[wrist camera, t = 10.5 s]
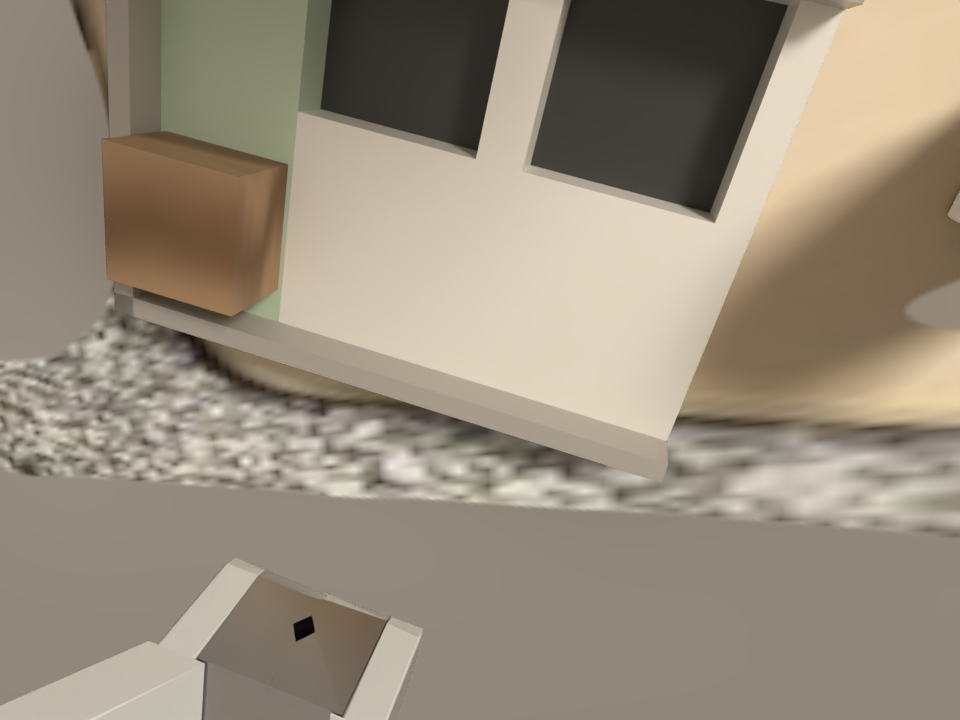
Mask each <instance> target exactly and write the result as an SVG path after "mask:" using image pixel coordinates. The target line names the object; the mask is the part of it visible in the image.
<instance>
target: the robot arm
mask: <svg viewBox="0 0 960 720" xmlns="http://www.w3.org/2000/svg"><path fill="white" fill-rule="evenodd" d="M423 634H424V629H422V628H419V627H416V626H414V625H411V624H408V623H406V622H403V621H400V620H398V619H395V618H392V617H391V616H389V615H386V614H383V613H381V612H378V611H375V610H372V609H370V608H367V607H364V606H361V605H359V604H356V603H353V602H350V601H347V600H345V599H342V598H339V597H336V596H333V595H331V594H328V595H327V594H324V593H322V592H319V591H317V590H314V589H312V588H310V587H307V586H304V585H302V584H300V583H297V582H295V581H293V580H290V579H287V578H285V577H282V576H280V575H278V574H275V573H273V572H270V571H268V570H265V569H263V568H260V567H258V566H255V565H252V564H250V563H247V562H245V561H242V560H239V559H237V558H235V559H233V560H231V561H230V562H228V563H227V564H225V565H224V566H223V567H222V569H221V570H220V571H219V572H218V573H217V575H216V576H215V577H214V578H213V579H212V580H211V582H210V583H209V584H208V585H207V586H206V588H205V589H204V590H203V591H202V592H201V594H200V595H199V596H198V597H197V598H196V599H195V601H194V602H193V603H192V604H191V605H190V607H189V608H188V609H187V610H186V611H185V612H184V614H183V615H182V616H181V617H180V618H179V620H178V621H177V622H176V623H175V624H174V625H173V627H172V628H171V629H170V630H169V631H168V633H167V634H166V635H165V636H164V637H163V639H162V640H161V641H160V642H159V643H158V644H156V643H154V642H151V641H146V642H144V643H141V644H139V645H137V646H135V647H132V648H130V649H128V650H125V651H123V652H121V653H119V654H116V655H114V656H112V657H109V658H107V659H105V660H103V661H101V662H98V663H96V664H94V665H91V666H89V667H87V668H85V669H82V670H80V671H78V672H75V673H73V674H71V675H69V676H66V677H64V678H62V679H59V680H57V681H55V682H53V683H50V684H48V685H46V686H44V687H41V688H39V689H37V690H34V691H32V692H30V693H28V694H25V695H23V696H21V697H19V698H16V699H14V700H12V701H9V702H7V703H5V704H3V705H0V720H397V719H398V716H399V713H400V710H401V707H402V704H403V701H404V698H405V695H406V692H407V689H408V686H409V683H410V680H411V676H412V672H413V669H414V666H415V662H416V659H417V655H418V652H419V648H420V645H421V641H422V638H423Z"/></svg>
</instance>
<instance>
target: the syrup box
mask: <svg viewBox="0 0 960 720" xmlns="http://www.w3.org/2000/svg"><path fill="white" fill-rule="evenodd" d="M948 217H949V218H951V219H952V220H954V221H956V222H958V223H960V191H959V193H958V195H957V197H956V199H955V201H954V203H953V205H952V207H951V208H950V210H949V212H948Z"/></svg>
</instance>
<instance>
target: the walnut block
mask: <svg viewBox="0 0 960 720" xmlns="http://www.w3.org/2000/svg"><path fill="white" fill-rule="evenodd" d="M102 165H103V191H104V217H105V243H106V267H107V268H106V269H107V279H109V280H113V281H116V282H119V283H123V284H126V285H129V286H132V287H136V288H139V289H142V290H145V291H149V292H152V293H155V294H159V295H162V296H165V297H168V298H172V299H175V300H178V301H182V302H185V303H188V304H191V305H195V306H198V307H201V308H205V309H208V310H211V311H214V312H218V313H221V314H224V315H228V316H231V317H232V316H234V315H235V314H237V313H239V312H240V311H242V310H244V309H245V308H247V307H249V306H250V305H252V304H254V303H255V302H257V301H259V300H260V299H262V298H264V297H265V296H267V295H269V294H270V293H272V292H274V291H276V290H277V289H278V280H279V269H280V257H281V245H282V233H283V221H284V209H285V197H286V185H287V173H288V164H285V163H282V162H278V161H274V160H271V159H267V158H264V157H260V156H256V155H253V154H249V153H245V152H242V151H238V150H234V149H231V148H227V147H223V146H220V145H216V144H212V143H209V142H205V141H201V140H198V139H194V138H190V137H187V136H183V135H180V134H176V133H172V132H169V131H161V132H153V133H145V134H137V135H129V136H121V137H113V138H105V139H102Z"/></svg>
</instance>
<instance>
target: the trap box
mask: <svg viewBox="0 0 960 720" xmlns="http://www.w3.org/2000/svg"><path fill="white" fill-rule="evenodd" d="M863 2H864V0H106V30H107V64H108V97H109V131H110V138H113V137H121V136H129V135H137V134H145V133H153V132H161V131H169V132H172V133H176V134H180V135H183V136H187V137H190V138H194V139H198V140H201V141H205V142H209V143H212V144H216V145H220V146H223V147H227V148H231V149H234V150H238V151H242V152H245V153H249V154H253V155H256V156H260V157H264V158H267V159H271V160H274V161H278V162H282V163H285V164H288V173H287V185H286V197H285V209H284V221H283V233H282V245H281V257H280V269H279V280H278V289H277V290H276V291H274V292H272V293H270V294H269V295H267V296H265V297H264V298H262V299H260V300H259V301H257V302H255V303H254V304H252V305H250V306H249V307H247V308H245V309H244V310H242V311H240V312H239V313H237V314H235V315H234V316H232V317H231V316H228V315H224V314H221V313H218V312H214V311H211V310H208V309H205V308H201V307H198V306H195V305H191V304H188V303H185V302H182V301H178V300H175V299H172V298H168V297H165V296H162V295H159V294H155V293H152V292H149V291H145V290H142V289H139V288H136V287H132V286H129V285H126V284H123V283H119V282H116V281H114V298H115V311H117V312H120V313H123V314H126V315H129V316H132V317H136V318H139V319H142V320H145V321H148V322H152V323H155V324H158V325H161V326H164V327H167V328H171V329H174V330H177V331H180V332H183V333H187V334H190V335H193V336H196V337H199V338H202V339H206V340H209V341H212V342H215V343H218V344H222V345H225V346H228V347H231V348H234V349H238V350H241V351H244V352H247V353H250V354H253V355H257V356H260V357H263V358H266V359H269V360H273V361H276V362H279V363H282V364H285V365H288V366H292V367H295V368H298V369H301V370H304V371H308V372H311V373H314V374H317V375H320V376H323V377H327V378H330V379H333V380H336V381H339V382H343V383H346V384H349V385H352V386H355V387H359V388H362V389H365V390H368V391H371V392H374V393H378V394H381V395H384V396H387V397H390V398H394V399H397V400H400V401H403V402H406V403H409V404H413V405H416V406H419V407H422V408H425V409H429V410H432V411H435V412H438V413H441V414H444V415H448V416H451V417H454V418H457V419H460V420H464V421H467V422H470V423H473V424H476V425H479V426H483V427H486V428H489V429H492V430H495V431H499V432H502V433H505V434H508V435H511V436H515V437H518V438H521V439H524V440H527V441H530V442H534V443H537V444H540V445H543V446H546V447H550V448H553V449H556V450H559V451H562V452H565V453H569V454H572V455H575V456H578V457H581V458H585V459H588V460H591V461H594V462H597V463H600V464H604V465H607V466H610V467H613V468H616V469H620V470H623V471H626V472H629V473H632V474H636V475H639V476H642V477H645V478H648V479H651V480H655V481H658V482H661V480H662V478H663V476H664V473H665V471H666V469H667V466H668V452H667V439H668V437H669V434H670V432H671V430H672V427H673V425H674V422H675V420H676V418H677V415H678V413H679V410H680V408H681V405H682V403H683V401H684V398H685V396H686V393H687V391H688V388H689V386H690V384H691V381H692V379H693V376H694V374H695V372H696V369H697V367H698V364H699V362H700V359H701V357H702V355H703V352H704V350H705V347H706V345H707V343H708V340H709V338H710V335H711V333H712V330H713V328H714V326H715V323H716V321H717V318H718V316H719V313H720V311H721V309H722V306H723V304H724V301H725V299H726V297H727V294H728V292H729V289H730V287H731V284H732V282H733V280H734V277H735V275H736V272H737V270H738V268H739V265H740V263H741V260H742V258H743V255H744V253H745V251H746V248H747V246H748V243H749V241H750V239H751V236H752V234H753V231H754V229H755V226H756V224H757V222H758V219H759V217H760V214H761V212H762V209H763V207H764V205H765V202H766V200H767V197H768V195H769V193H770V190H771V188H772V185H773V183H774V180H775V178H776V176H777V173H778V171H779V168H780V166H781V164H782V161H783V159H784V156H785V154H786V151H787V149H788V147H789V144H790V142H791V139H792V137H793V134H794V132H795V130H796V127H797V125H798V122H799V120H800V118H801V115H802V113H803V110H804V108H805V105H806V103H807V101H808V98H809V96H810V93H811V91H812V89H813V86H814V84H815V81H816V79H817V76H818V74H819V72H820V69H821V67H822V64H823V62H824V59H825V57H826V55H827V52H828V50H829V47H830V45H831V43H832V40H833V38H834V35H835V33H836V30H837V28H838V26H839V23H840V21H841V18H842V16H843V14H844V11H845V10H846V9H849V8H852V7H855V6H859V5H862V4H863Z"/></svg>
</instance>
